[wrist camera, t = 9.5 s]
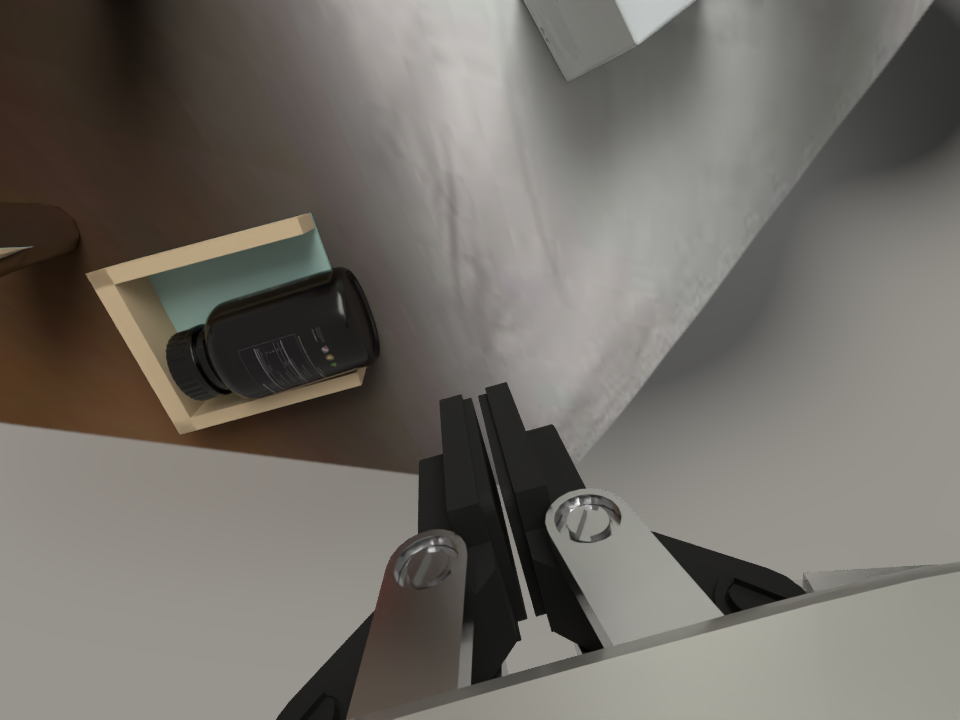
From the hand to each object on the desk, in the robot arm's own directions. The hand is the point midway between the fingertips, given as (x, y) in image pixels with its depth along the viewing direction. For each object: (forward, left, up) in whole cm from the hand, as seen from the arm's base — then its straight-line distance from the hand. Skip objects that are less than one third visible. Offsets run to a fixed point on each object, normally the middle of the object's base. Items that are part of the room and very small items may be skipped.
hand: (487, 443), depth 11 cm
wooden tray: (+14, 0, -25) cm, 28 cm away
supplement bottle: (+6, +1, -21) cm, 22 cm away
